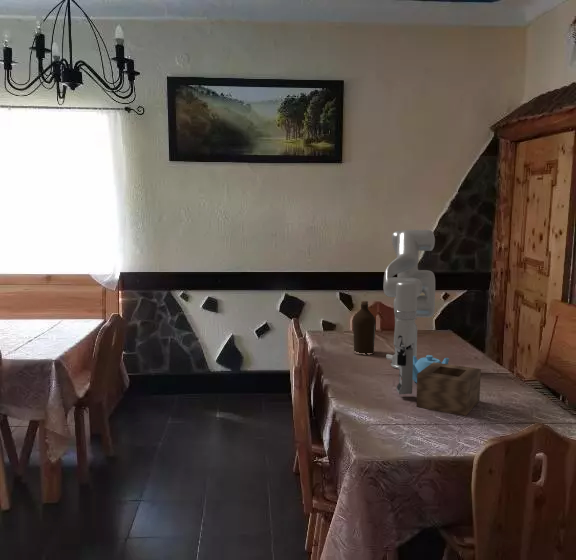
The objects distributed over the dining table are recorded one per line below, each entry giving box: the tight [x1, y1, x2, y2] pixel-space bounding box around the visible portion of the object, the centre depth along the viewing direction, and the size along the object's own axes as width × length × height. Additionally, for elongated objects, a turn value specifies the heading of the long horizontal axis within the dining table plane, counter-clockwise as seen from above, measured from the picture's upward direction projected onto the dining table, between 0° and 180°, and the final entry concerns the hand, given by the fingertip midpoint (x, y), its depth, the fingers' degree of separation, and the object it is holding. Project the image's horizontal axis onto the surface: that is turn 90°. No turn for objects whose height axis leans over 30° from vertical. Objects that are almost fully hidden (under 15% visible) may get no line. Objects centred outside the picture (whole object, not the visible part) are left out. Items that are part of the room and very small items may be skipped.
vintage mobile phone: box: [396, 347, 414, 395], centre depth 220 cm, size 4×5×25 cm
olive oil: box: [352, 300, 377, 354], centre depth 284 cm, size 11×11×25 cm
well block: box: [416, 362, 482, 417], centre depth 214 cm, size 18×18×12 cm
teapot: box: [412, 354, 450, 384], centre depth 240 cm, size 15×15×11 cm
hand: (404, 362), depth 220 cm, fingers closed on vintage mobile phone, 5 cm apart
